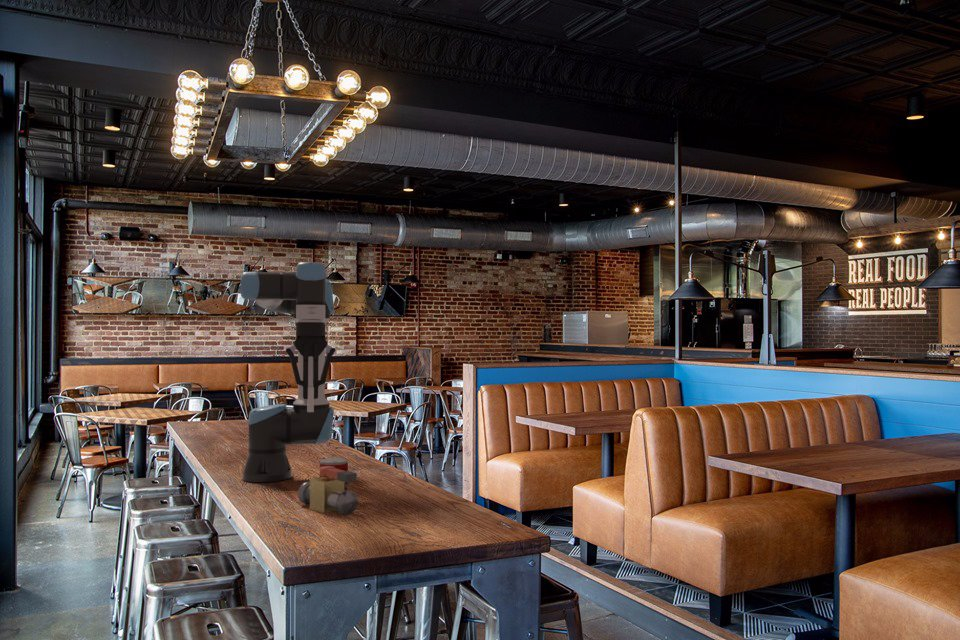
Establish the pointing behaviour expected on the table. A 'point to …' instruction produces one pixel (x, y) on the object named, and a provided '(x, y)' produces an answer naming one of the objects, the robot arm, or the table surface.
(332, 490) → the valve pipe
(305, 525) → the table surface
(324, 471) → the lever
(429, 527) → the table surface
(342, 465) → the canned food
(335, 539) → the table surface
